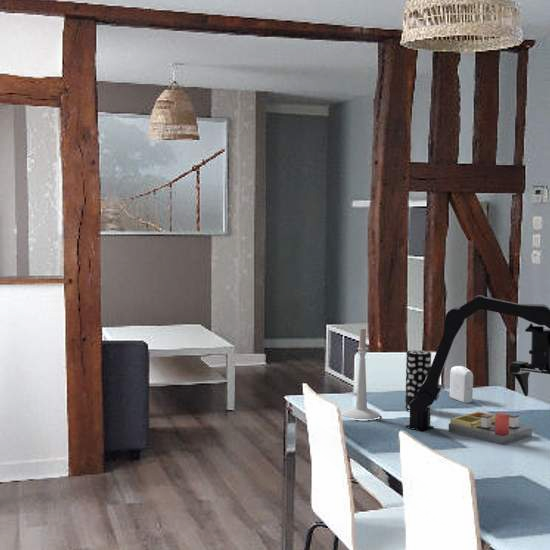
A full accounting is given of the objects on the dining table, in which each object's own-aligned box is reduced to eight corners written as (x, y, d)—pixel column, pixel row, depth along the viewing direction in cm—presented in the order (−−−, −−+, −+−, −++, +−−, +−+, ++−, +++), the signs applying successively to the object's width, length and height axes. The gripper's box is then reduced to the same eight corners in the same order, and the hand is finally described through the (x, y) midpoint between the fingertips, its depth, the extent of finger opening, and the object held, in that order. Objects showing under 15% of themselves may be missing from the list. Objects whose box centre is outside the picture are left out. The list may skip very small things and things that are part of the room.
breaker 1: (486, 427, 253) (486, 416, 252) (480, 426, 254) (481, 415, 254) (491, 426, 254) (491, 415, 254) (485, 425, 256) (485, 414, 256)
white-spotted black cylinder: (431, 413, 284) (432, 354, 282) (406, 412, 284) (408, 354, 282) (427, 407, 292) (428, 350, 290) (403, 407, 292) (404, 350, 291)
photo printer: (474, 402, 300) (475, 368, 300) (464, 403, 299) (465, 369, 298) (457, 396, 310) (458, 363, 309) (447, 397, 308) (448, 364, 308)
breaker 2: (514, 427, 254) (514, 416, 253) (508, 426, 255) (508, 415, 255) (518, 426, 255) (518, 415, 255) (512, 424, 257) (512, 413, 257)
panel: (503, 444, 245) (503, 431, 244) (448, 431, 259) (448, 418, 259) (531, 435, 255) (532, 422, 255) (477, 423, 270) (478, 411, 269)
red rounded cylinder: (503, 436, 245) (504, 417, 244) (492, 432, 248) (492, 414, 247) (511, 433, 248) (512, 415, 247) (499, 429, 251) (500, 412, 250)
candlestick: (335, 413, 281) (337, 325, 279) (369, 410, 286) (371, 323, 284) (352, 422, 269) (353, 330, 267) (387, 419, 274) (389, 328, 272)
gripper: (583, 347, 249) (582, 399, 250) (526, 341, 263) (525, 390, 264) (566, 351, 241) (564, 404, 242) (507, 344, 255) (507, 395, 256)
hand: (540, 398), depth 251 cm, fingers open, 9 cm apart
